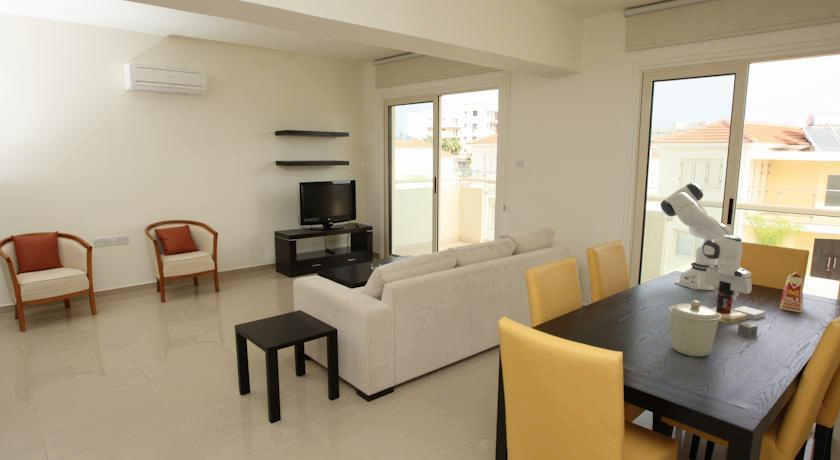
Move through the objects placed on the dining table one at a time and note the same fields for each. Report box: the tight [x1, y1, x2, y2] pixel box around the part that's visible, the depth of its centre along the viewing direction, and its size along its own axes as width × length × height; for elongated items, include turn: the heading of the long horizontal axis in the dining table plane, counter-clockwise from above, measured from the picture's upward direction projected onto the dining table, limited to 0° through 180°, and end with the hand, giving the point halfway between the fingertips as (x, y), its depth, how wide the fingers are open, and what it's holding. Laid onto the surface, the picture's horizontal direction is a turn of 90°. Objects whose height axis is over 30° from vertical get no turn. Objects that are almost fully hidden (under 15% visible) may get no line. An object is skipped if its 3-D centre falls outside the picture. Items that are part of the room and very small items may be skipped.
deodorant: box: [716, 281, 734, 314], centre depth 237 cm, size 6×6×15 cm
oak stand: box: [710, 306, 748, 325], centre depth 239 cm, size 14×14×3 cm
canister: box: [668, 299, 721, 358], centre depth 196 cm, size 18×18×21 cm
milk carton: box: [779, 270, 804, 313], centre depth 253 cm, size 9×9×20 cm
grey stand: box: [732, 305, 766, 321], centre depth 243 cm, size 10×10×2 cm
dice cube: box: [737, 321, 759, 339], centre depth 216 cm, size 5×5×5 cm
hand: (725, 298), depth 238 cm, fingers closed on deodorant, 6 cm apart
